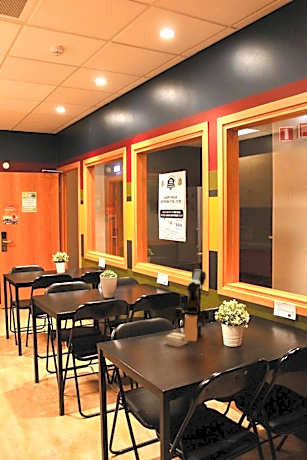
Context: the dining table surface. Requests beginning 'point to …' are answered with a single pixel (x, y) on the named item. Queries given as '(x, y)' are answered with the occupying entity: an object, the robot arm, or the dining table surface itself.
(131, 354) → the dining table surface
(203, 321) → the robot arm
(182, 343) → the tower base slab
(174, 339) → the tower top slab
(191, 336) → the orange pillar block
